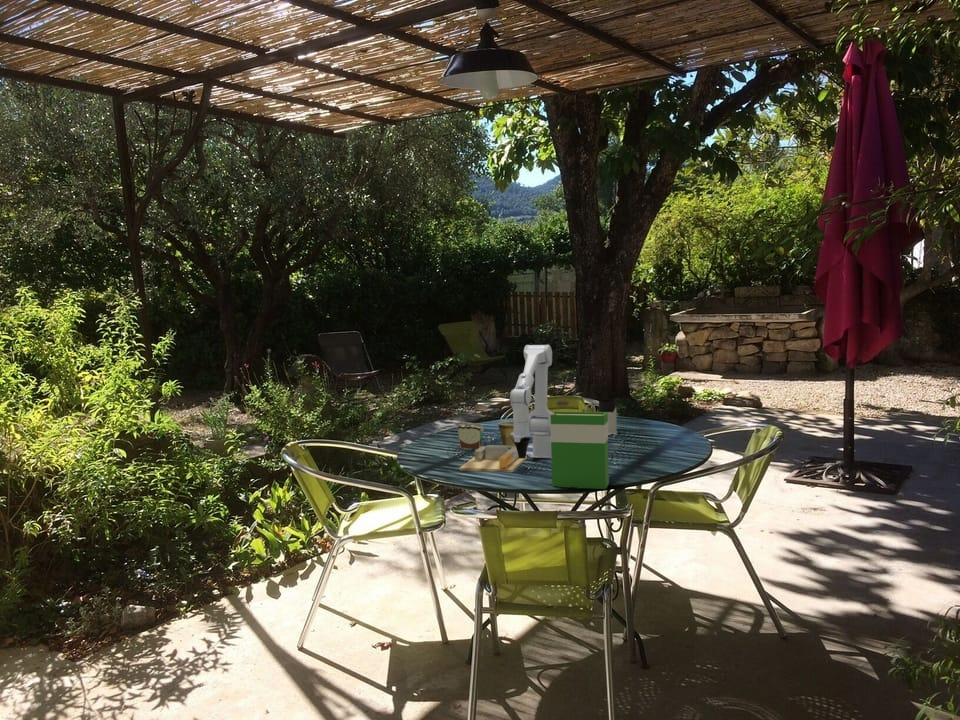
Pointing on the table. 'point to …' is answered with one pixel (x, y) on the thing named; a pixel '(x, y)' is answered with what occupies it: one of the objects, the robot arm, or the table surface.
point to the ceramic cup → (507, 433)
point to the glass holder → (611, 409)
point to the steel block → (495, 451)
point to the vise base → (489, 463)
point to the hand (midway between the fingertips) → (522, 458)
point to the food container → (470, 435)
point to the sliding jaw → (508, 457)
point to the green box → (580, 449)
